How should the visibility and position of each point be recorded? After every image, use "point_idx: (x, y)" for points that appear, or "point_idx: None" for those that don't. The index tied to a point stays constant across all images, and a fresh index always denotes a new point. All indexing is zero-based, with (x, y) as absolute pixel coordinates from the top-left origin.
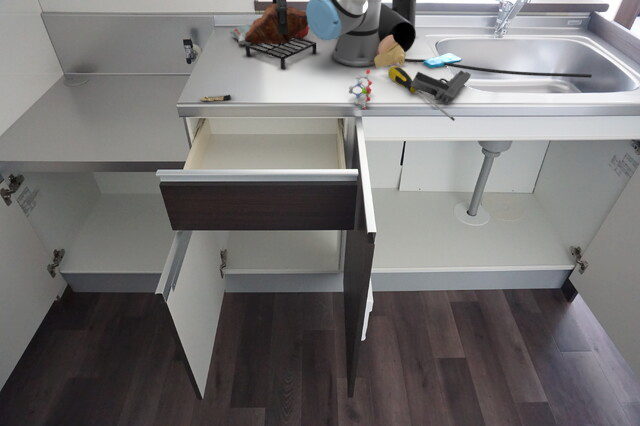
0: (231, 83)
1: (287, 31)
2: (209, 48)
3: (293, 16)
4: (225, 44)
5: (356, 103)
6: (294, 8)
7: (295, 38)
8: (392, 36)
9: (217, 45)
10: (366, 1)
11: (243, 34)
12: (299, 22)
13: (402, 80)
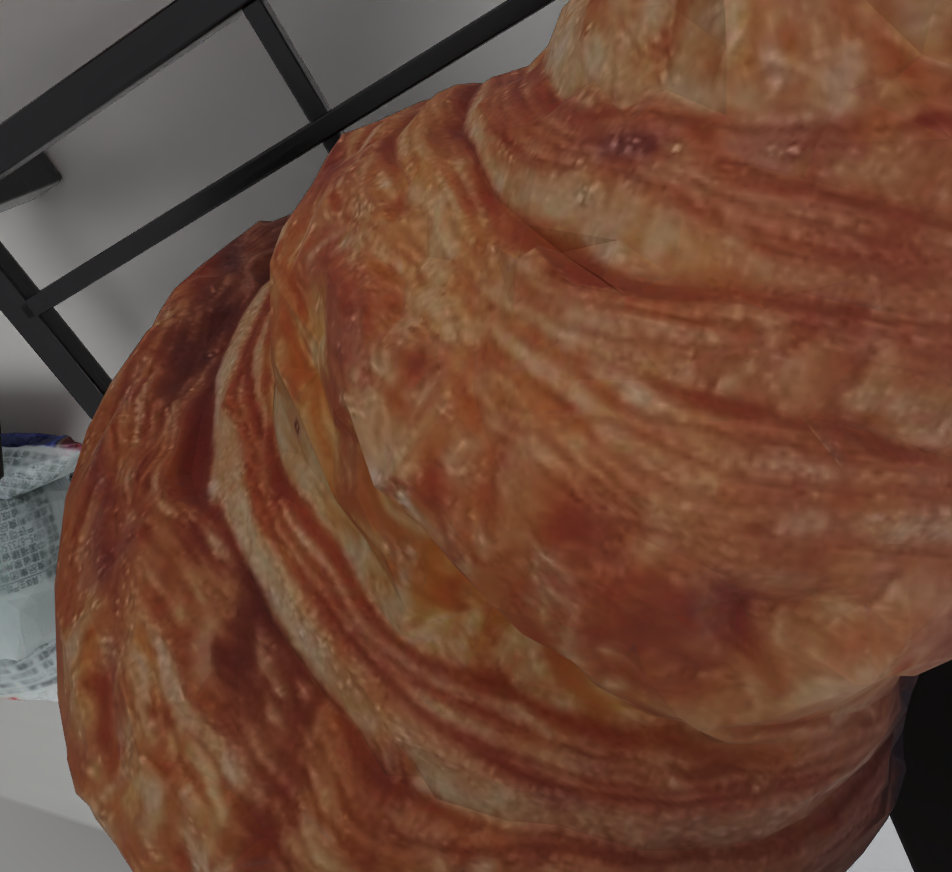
0: (881, 855)
1: (270, 223)
2: (87, 822)
3: (323, 199)
4: (6, 707)
5: None
6: (813, 471)
7: (280, 31)
8: None
9: (23, 763)
10: None
11: (34, 681)
12: (534, 60)
13: None
